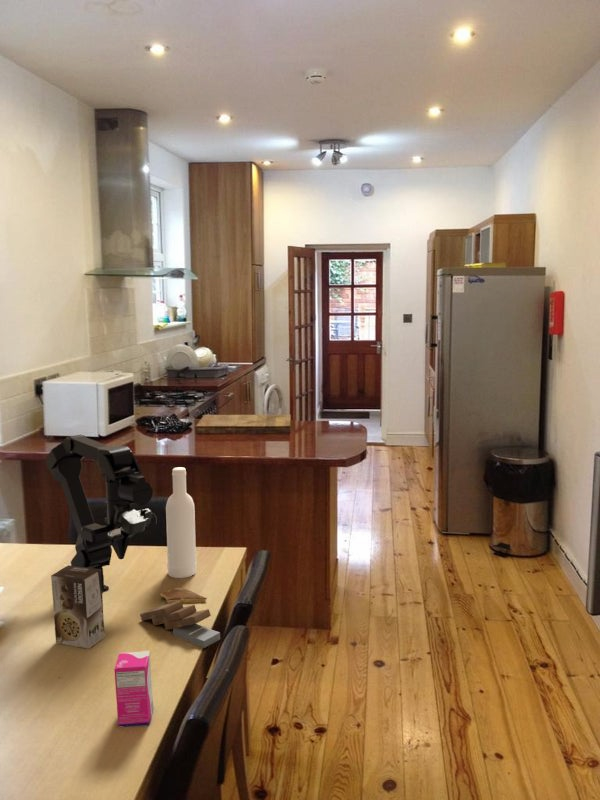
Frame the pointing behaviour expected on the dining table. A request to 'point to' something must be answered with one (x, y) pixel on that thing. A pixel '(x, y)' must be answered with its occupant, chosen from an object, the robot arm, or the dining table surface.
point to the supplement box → (134, 688)
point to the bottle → (180, 528)
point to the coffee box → (78, 606)
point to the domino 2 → (175, 615)
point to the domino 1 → (161, 610)
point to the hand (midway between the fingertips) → (121, 558)
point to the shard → (182, 596)
